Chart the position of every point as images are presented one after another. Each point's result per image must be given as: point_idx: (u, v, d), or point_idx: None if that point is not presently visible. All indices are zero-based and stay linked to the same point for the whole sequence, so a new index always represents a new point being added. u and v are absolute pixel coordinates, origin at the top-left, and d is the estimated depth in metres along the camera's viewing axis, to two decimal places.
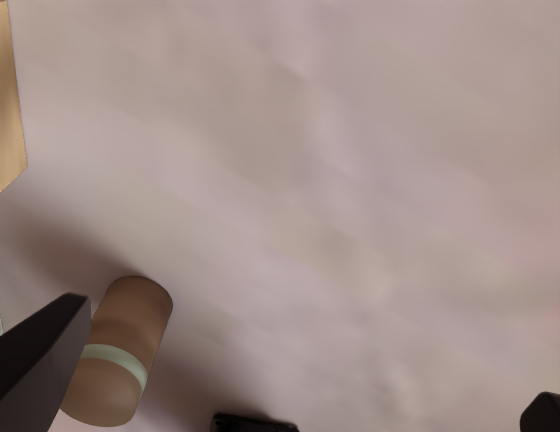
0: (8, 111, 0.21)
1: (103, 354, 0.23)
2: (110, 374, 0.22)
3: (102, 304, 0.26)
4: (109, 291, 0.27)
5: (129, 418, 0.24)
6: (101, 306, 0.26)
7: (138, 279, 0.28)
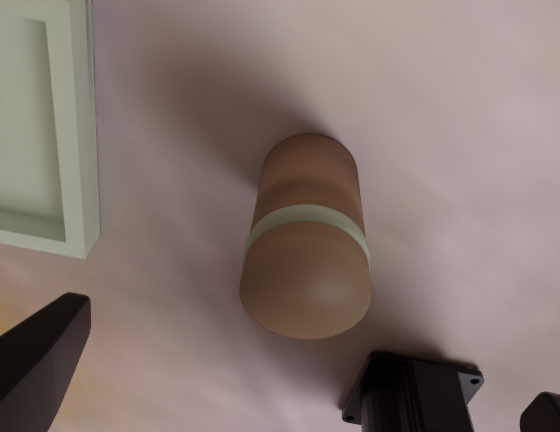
0: None
1: (320, 217, 0.14)
2: (343, 243, 0.14)
3: (276, 166, 0.18)
4: (278, 153, 0.18)
5: (354, 322, 0.15)
6: (276, 168, 0.17)
7: (318, 137, 0.19)
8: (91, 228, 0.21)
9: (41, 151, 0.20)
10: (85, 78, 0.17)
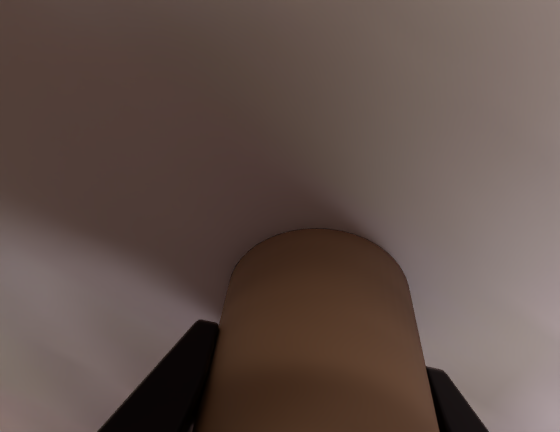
0: None
1: None
2: None
3: (248, 312, 0.08)
4: (255, 272, 0.09)
5: None
6: (247, 318, 0.08)
7: (338, 237, 0.09)
8: None
9: None
10: None
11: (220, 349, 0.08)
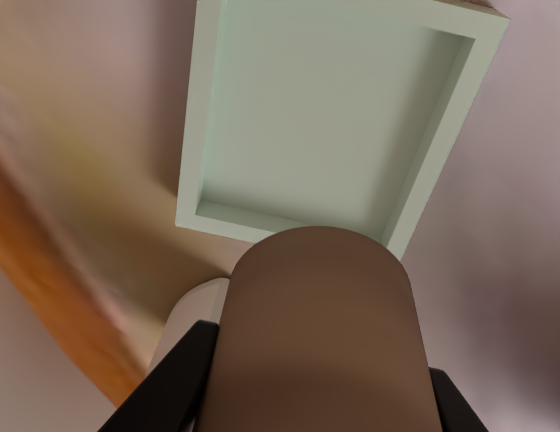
0: None
1: None
2: None
3: (249, 309, 0.08)
4: (256, 269, 0.09)
5: None
6: (248, 316, 0.08)
7: (340, 234, 0.09)
8: None
9: (378, 165, 0.20)
10: None
11: (220, 347, 0.08)
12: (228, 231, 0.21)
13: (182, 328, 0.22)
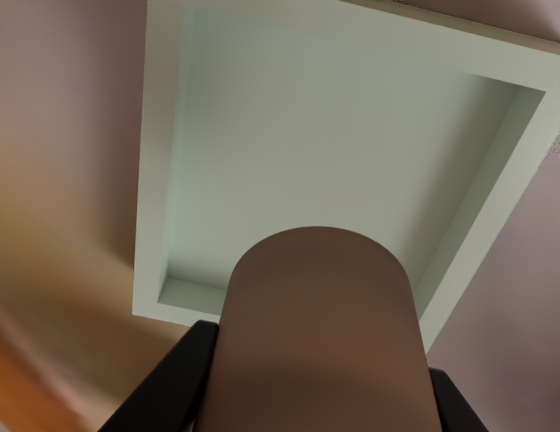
0: None
1: None
2: None
3: (249, 310, 0.08)
4: (255, 269, 0.09)
5: None
6: (247, 316, 0.08)
7: (339, 235, 0.09)
8: None
9: (396, 241, 0.15)
10: None
11: (220, 347, 0.08)
12: None
13: None
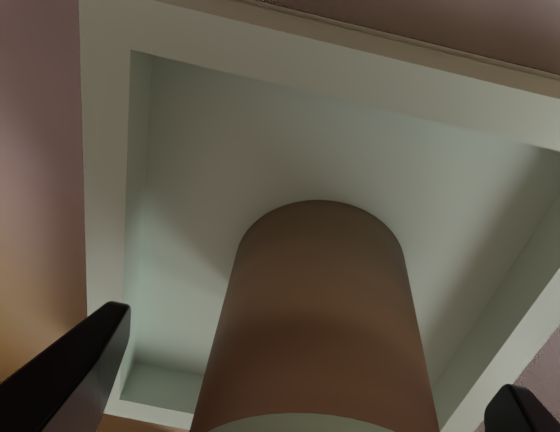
0: None
1: None
2: None
3: (255, 271, 0.09)
4: (261, 238, 0.10)
5: None
6: (254, 277, 0.09)
7: (338, 207, 0.10)
8: None
9: None
10: None
11: (229, 305, 0.09)
12: (175, 420, 0.13)
13: None
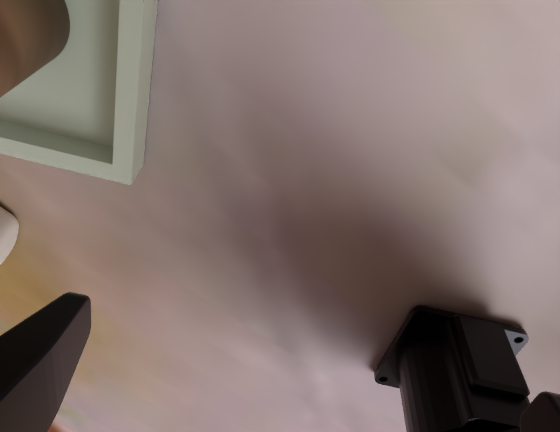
0: None
1: None
2: None
3: None
4: None
5: None
6: None
7: None
8: (138, 152, 0.20)
9: (93, 61, 0.18)
10: None
11: None
12: None
13: None
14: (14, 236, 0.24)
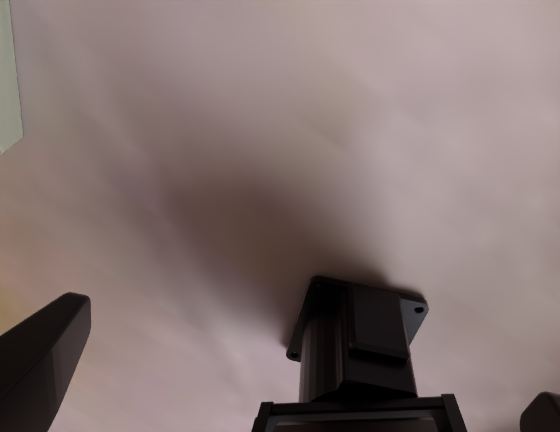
0: None
1: None
2: None
3: None
4: None
5: None
6: None
7: None
8: (9, 121, 0.20)
9: None
10: None
11: None
12: None
13: None
14: None
